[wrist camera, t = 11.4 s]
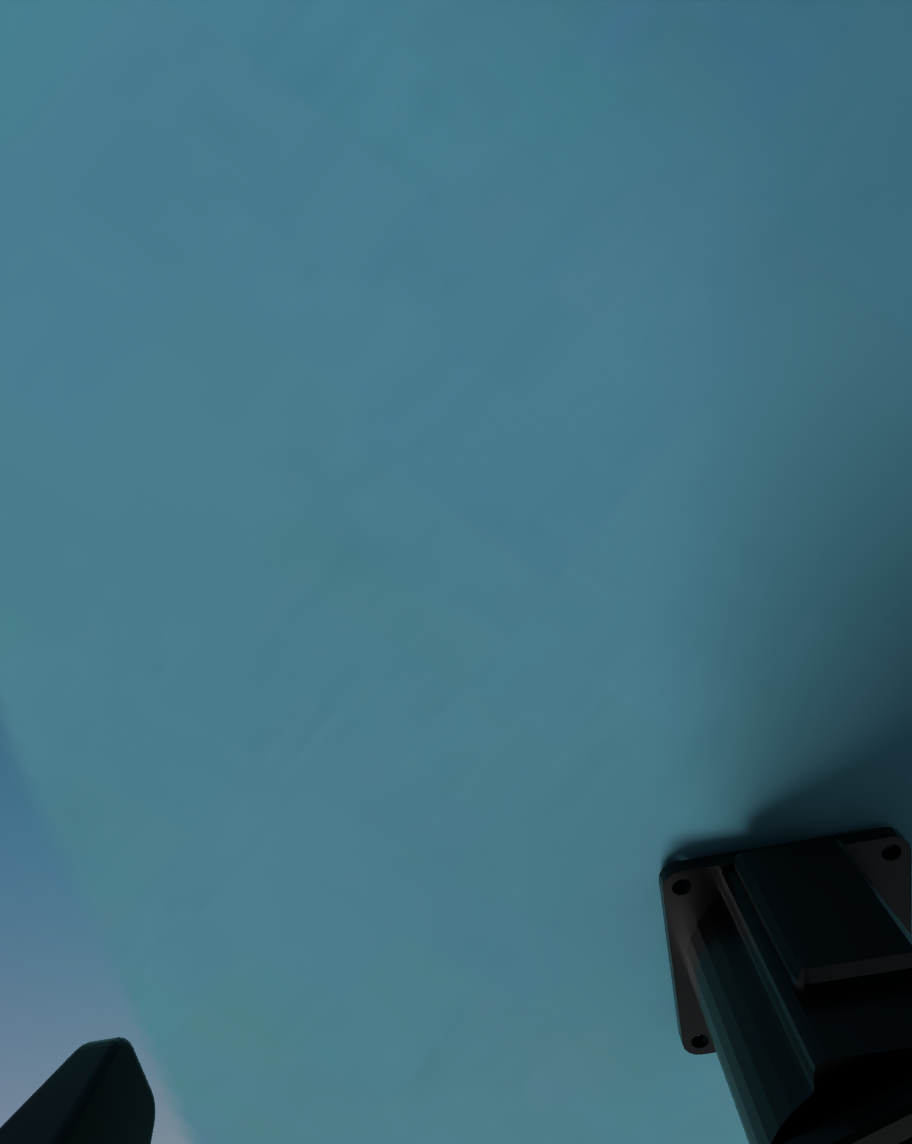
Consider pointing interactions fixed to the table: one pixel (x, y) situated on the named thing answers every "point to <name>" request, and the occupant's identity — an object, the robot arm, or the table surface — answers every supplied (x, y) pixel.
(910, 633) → the table surface
